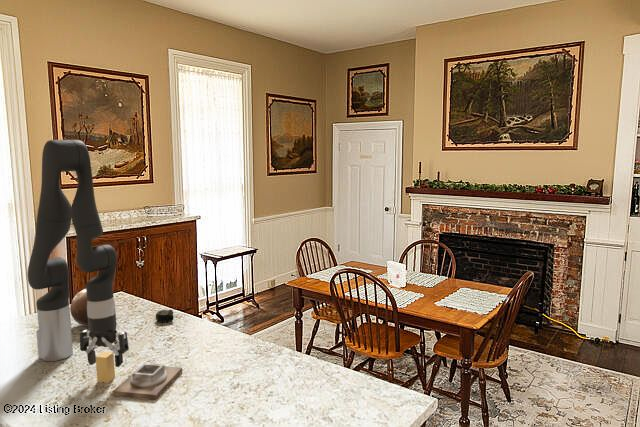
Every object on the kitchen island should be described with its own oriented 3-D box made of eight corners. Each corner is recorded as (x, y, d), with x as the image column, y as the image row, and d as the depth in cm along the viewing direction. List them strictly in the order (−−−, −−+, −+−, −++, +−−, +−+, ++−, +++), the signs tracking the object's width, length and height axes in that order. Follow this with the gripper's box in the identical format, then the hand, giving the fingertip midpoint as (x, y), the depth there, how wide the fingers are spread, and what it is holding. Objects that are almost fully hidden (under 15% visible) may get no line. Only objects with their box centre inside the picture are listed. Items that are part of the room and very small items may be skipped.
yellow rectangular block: (97, 382, 136) (95, 356, 135) (104, 376, 140) (102, 351, 139) (108, 383, 136) (106, 357, 135) (115, 377, 139) (113, 352, 138)
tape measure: (173, 323, 182) (173, 314, 182) (155, 325, 180) (155, 315, 180) (173, 317, 189) (173, 308, 188) (156, 318, 187) (155, 310, 186)
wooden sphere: (64, 326, 178) (61, 289, 176) (101, 315, 190) (98, 280, 188) (84, 336, 169) (81, 297, 167) (122, 323, 182) (119, 286, 179)
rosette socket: (113, 395, 129) (112, 380, 128) (143, 368, 145) (142, 355, 144) (156, 399, 127) (155, 384, 126) (182, 372, 143) (181, 358, 142)
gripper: (71, 316, 132) (75, 369, 134) (116, 318, 130) (120, 372, 132) (88, 307, 140) (92, 357, 142) (131, 309, 137) (134, 360, 139)
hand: (105, 364), depth 137 cm, fingers open, 8 cm apart
